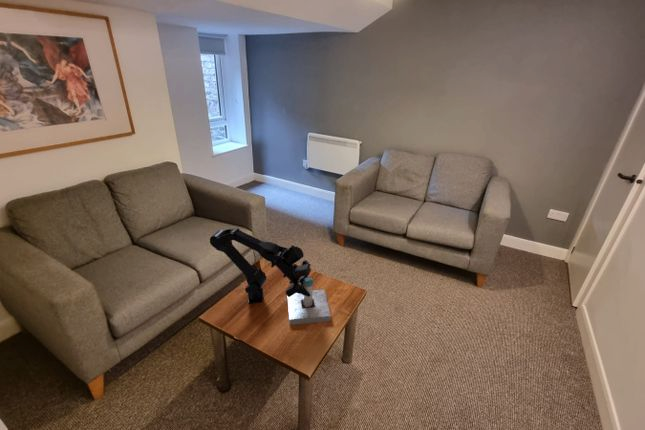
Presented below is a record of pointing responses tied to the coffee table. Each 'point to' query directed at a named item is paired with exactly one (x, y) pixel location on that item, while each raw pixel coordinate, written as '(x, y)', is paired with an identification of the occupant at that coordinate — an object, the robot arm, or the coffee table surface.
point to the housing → (308, 314)
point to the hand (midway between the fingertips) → (311, 293)
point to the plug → (309, 287)
